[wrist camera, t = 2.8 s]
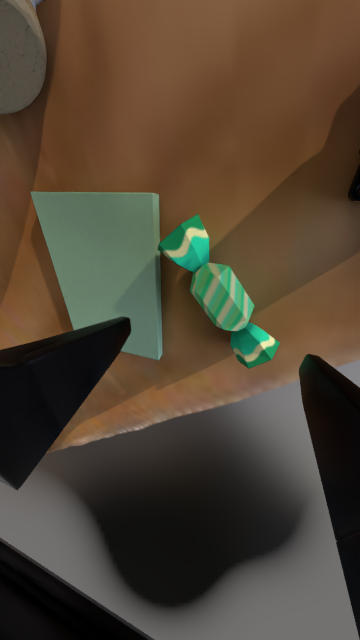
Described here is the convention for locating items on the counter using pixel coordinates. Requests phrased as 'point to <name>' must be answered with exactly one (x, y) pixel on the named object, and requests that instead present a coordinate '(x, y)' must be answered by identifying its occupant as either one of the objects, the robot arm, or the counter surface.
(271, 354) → the candy
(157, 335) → the cutting board
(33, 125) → the counter surface
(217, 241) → the counter surface
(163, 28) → the counter surface
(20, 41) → the ceramic mug
